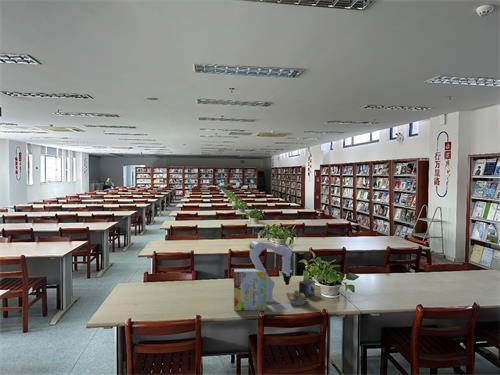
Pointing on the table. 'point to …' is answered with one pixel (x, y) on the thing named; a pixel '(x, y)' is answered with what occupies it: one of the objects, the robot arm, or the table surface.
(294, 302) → the bowl
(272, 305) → the mat
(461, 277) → the table surface
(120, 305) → the table surface
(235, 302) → the snack box
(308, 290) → the small box
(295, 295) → the cover
